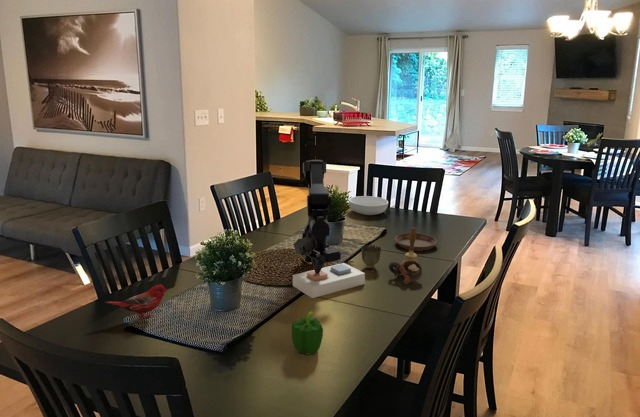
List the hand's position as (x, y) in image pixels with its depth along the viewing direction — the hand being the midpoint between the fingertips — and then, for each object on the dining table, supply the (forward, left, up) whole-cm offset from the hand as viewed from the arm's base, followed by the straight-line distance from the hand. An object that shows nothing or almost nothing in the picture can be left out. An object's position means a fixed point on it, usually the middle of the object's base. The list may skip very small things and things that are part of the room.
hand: (317, 273), depth 173 cm
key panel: (0, +5, -5) cm, 7 cm away
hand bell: (+3, +41, -6) cm, 42 cm away
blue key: (0, +10, -3) cm, 10 cm away
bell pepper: (+32, -25, -6) cm, 41 cm away
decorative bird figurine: (-10, -57, -6) cm, 58 cm away
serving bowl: (-67, +79, -6) cm, 104 cm away
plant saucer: (-15, +62, -6) cm, 64 cm away
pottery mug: (+10, +31, -6) cm, 33 cm away
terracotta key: (0, 0, -3) cm, 3 cm away
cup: (-5, +28, -6) cm, 29 cm away
